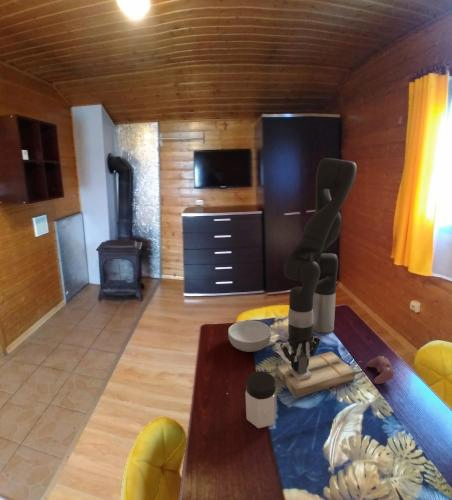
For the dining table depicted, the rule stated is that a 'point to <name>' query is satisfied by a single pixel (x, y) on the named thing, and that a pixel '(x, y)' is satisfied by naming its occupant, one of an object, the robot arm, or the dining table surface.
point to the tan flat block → (317, 374)
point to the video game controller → (382, 369)
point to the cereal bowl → (249, 335)
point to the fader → (301, 367)
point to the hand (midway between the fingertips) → (299, 367)
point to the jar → (261, 399)
